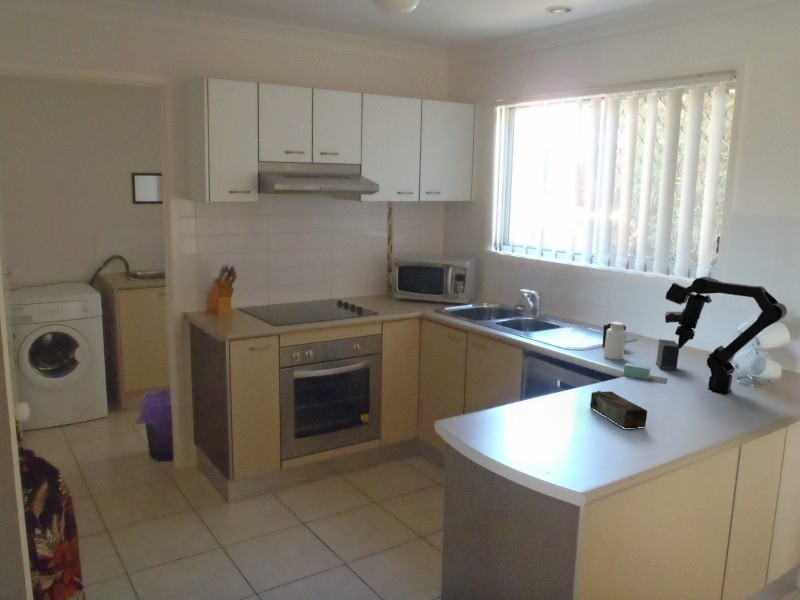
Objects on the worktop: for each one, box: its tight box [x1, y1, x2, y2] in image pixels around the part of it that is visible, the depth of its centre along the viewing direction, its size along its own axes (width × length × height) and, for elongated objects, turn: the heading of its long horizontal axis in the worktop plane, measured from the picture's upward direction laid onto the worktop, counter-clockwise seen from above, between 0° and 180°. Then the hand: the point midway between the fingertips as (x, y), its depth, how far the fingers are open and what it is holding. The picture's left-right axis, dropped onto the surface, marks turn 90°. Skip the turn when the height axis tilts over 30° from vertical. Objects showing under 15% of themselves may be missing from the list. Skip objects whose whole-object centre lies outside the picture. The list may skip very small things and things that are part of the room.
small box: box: [655, 338, 680, 372], centre depth 266 cm, size 11×6×10 cm, turn 168°
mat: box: [634, 374, 669, 385], centre depth 250 cm, size 11×8×1 cm
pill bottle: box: [603, 321, 627, 361], centre depth 277 cm, size 8×8×15 cm
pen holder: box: [602, 322, 627, 348], centre depth 295 cm, size 9×9×10 cm
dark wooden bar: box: [589, 390, 648, 428], centre depth 208 cm, size 8×19×7 cm, turn 16°
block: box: [623, 362, 652, 379], centre depth 252 cm, size 4×4×9 cm
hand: (679, 347), depth 249 cm, fingers closed
